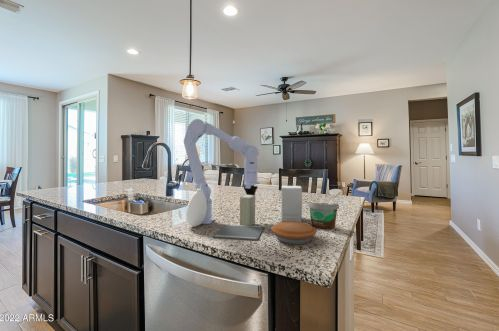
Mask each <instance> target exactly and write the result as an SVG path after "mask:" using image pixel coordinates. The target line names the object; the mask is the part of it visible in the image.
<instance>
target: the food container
mask: <svg viewBox="0 0 499 331" xmlns="http://www.w3.org/2000/svg"><path fill="white" fill-rule="evenodd" d="M307 207H308V208H309V215H310V223H311V224H310V225H311V226H312V227H314V228H315V229H318V230H333V229H335V227H336V222H337V221H336V220H337V214H338V209H340V207H339V204H338V202H337V203H333V204H330V203H324V202H320V203H315V202H311V200H309V201H308V204H307Z"/></svg>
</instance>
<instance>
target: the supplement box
mask: <svg viewBox="0 0 499 331" xmlns="http://www.w3.org/2000/svg"><path fill="white" fill-rule="evenodd" d="M302 211H303V188H302V186H301V185H282V186H281V222H287V221H295V222H302V218H303V214H302ZM302 223H303V222H302Z"/></svg>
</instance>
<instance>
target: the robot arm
mask: <svg viewBox="0 0 499 331" xmlns="http://www.w3.org/2000/svg"><path fill="white" fill-rule="evenodd" d="M204 135H207V136H211V135H212V136H214V137H215V138H218V139H220V140H221V141H223V142H226V143H227V144H228V146H229V148H230V149H232V150H233V151H236V152H237V153H239V154H241V155H244V181H243V184H244V185H245V186H244V187H243V189H244V191H245V195H255V196H256V191H257V189H258V185H260V184H261V182H260V181H258V156H259V149H258V148H257V146H255V145H251V142H249V141H248V142H247V141H246V140H243V139H242V137H241V136H236V135H234V136H231V135H229V134H228V133H226V132H224V131H223V130H221V129H219V128H218V127H216V126H215V125H213V124H211V123H209V122H207V121H204V120H202V119H199V118H195V119H193V120H192V121H191V122H190V123H189V125H188V126H187V129H186V132H185V135H184V138H183V144H184V149H185V152H186V156H187V160H188V163H189V167H190V170H191V171H190V172H191V174H192V177H193V181H194V189H195V192H196V191H197V189H200V185H201V189H203V193H204V195H205V197H206V203H207V210H206V215H205V218H204V220H203V221H202V223H201V224H203V225H209V224H211V223H213V221H215V219H216V218H214V217H213V213H212V212H213V208H212V207H213V206H212V199H211V194H212V190H211V188H210V187H209V185H208V183H207V180H206V177H205V173H204V171H203V167H202V164H201V159H200V156H199V151H198V148H197V142H198V141H199V139H200V138H201V137H203V136H204ZM201 224H200V225H201Z"/></svg>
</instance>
